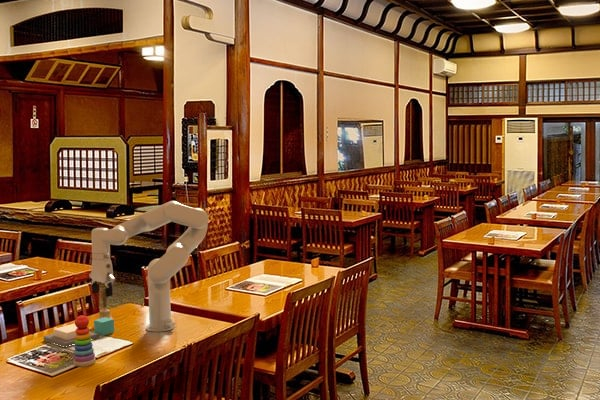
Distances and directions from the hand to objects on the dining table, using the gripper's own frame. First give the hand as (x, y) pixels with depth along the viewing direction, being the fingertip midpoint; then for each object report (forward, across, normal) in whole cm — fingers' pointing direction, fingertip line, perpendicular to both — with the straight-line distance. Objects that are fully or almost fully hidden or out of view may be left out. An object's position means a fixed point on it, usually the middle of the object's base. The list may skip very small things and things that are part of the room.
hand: (102, 294), depth 269 cm
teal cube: (+17, 0, 0) cm, 17 cm away
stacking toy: (+18, -27, +28) cm, 43 cm away
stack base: (+17, +3, +14) cm, 22 cm away
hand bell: (+18, +15, -11) cm, 26 cm away
